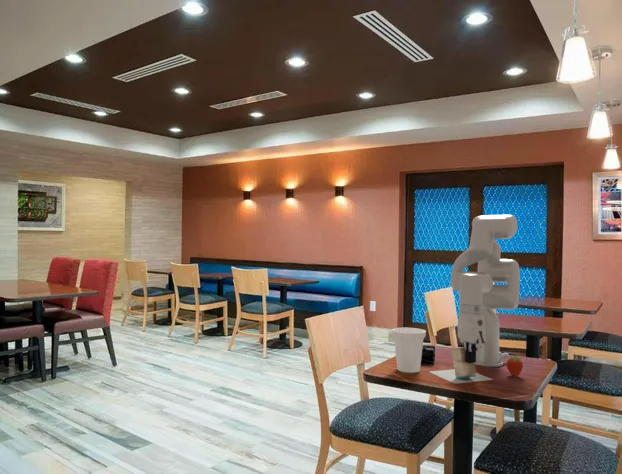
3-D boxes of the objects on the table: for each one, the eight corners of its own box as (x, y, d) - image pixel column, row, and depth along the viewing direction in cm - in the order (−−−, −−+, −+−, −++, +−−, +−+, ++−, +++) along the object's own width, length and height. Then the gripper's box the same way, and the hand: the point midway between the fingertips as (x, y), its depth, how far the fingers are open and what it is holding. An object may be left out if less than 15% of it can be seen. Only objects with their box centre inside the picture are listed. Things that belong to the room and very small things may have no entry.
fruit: (512, 379, 171) (512, 356, 171) (503, 375, 176) (503, 353, 176) (525, 378, 172) (526, 355, 172) (516, 374, 177) (516, 352, 177)
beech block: (467, 376, 172) (463, 348, 175) (476, 376, 167) (471, 347, 170) (455, 378, 170) (451, 349, 173) (464, 377, 166) (459, 348, 168)
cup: (388, 373, 177) (388, 331, 177) (395, 365, 189) (395, 326, 189) (423, 377, 172) (423, 334, 173) (427, 368, 184) (428, 328, 184)
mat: (464, 369, 184) (464, 368, 184) (493, 380, 169) (493, 379, 169) (428, 372, 179) (428, 371, 179) (454, 384, 163) (454, 383, 163)
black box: (434, 361, 196) (434, 344, 196) (435, 365, 189) (435, 348, 189) (409, 359, 198) (409, 343, 198) (409, 364, 191) (409, 347, 191)
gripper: (494, 311, 161) (494, 366, 161) (466, 306, 175) (466, 356, 175) (475, 312, 158) (475, 368, 158) (448, 306, 173) (448, 358, 172)
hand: (470, 362), depth 167 cm, fingers closed
